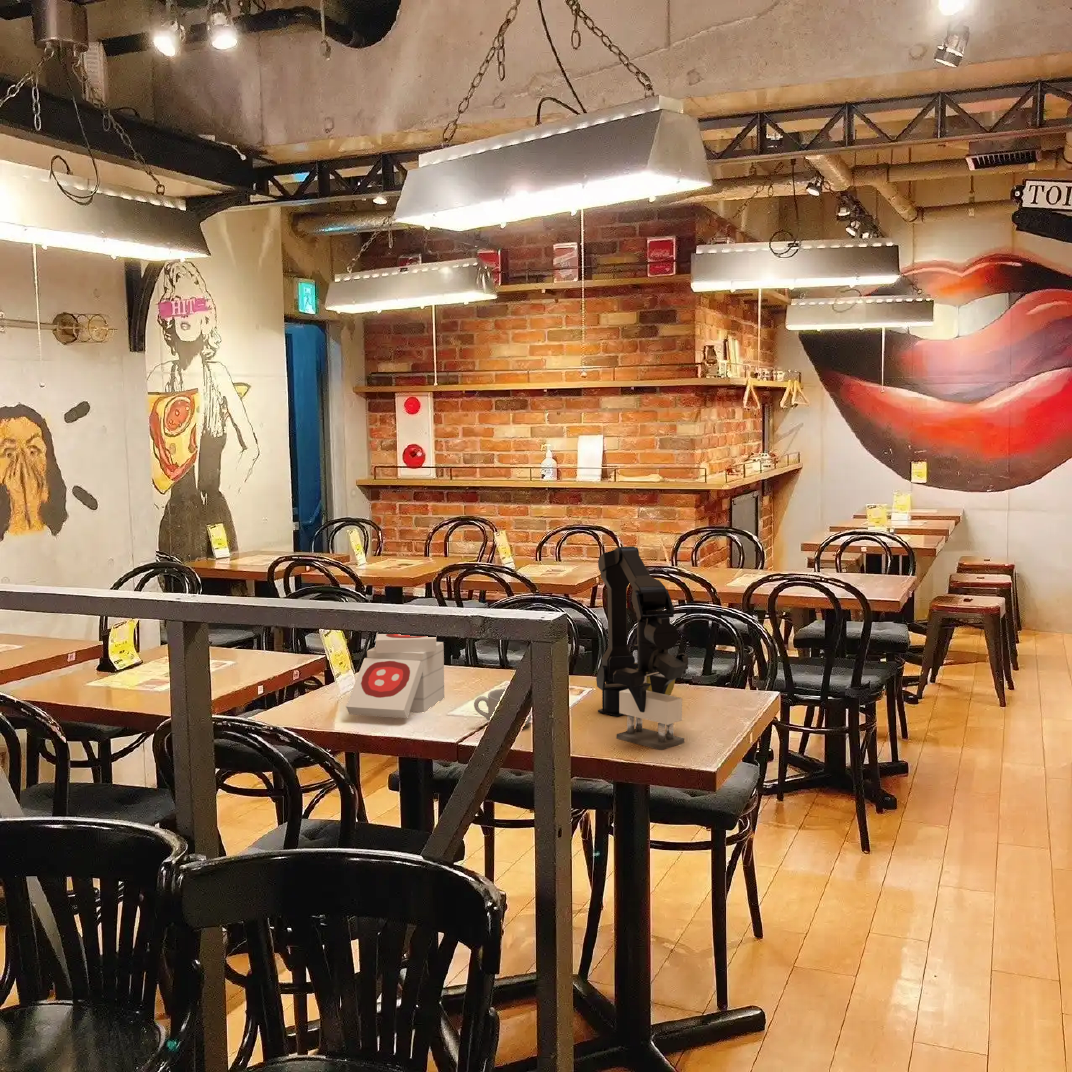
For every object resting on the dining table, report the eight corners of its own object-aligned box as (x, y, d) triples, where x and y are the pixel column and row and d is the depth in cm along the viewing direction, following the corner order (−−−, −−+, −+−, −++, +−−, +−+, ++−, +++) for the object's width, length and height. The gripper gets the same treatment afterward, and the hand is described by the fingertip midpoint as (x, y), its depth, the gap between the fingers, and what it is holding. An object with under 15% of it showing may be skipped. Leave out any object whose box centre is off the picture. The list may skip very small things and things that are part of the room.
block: (681, 720, 248) (682, 698, 248) (667, 724, 245) (667, 702, 245) (633, 709, 259) (634, 687, 258) (619, 713, 255) (619, 691, 255)
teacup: (533, 720, 271) (532, 687, 270) (534, 732, 260) (534, 698, 259) (474, 721, 270) (474, 688, 269) (473, 733, 259) (473, 699, 258)
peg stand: (616, 738, 254) (616, 716, 254) (639, 731, 260) (639, 710, 259) (661, 750, 245) (661, 727, 244) (684, 742, 250) (684, 720, 250)
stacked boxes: (339, 722, 270) (337, 647, 269) (387, 693, 299) (386, 625, 297) (413, 727, 265) (412, 651, 264) (455, 697, 294) (454, 628, 292)
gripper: (650, 652, 238) (650, 724, 239) (705, 639, 251) (704, 708, 252) (611, 645, 246) (611, 715, 247) (666, 633, 259) (666, 700, 260)
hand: (650, 709), depth 252 cm, fingers closed on block, 5 cm apart
